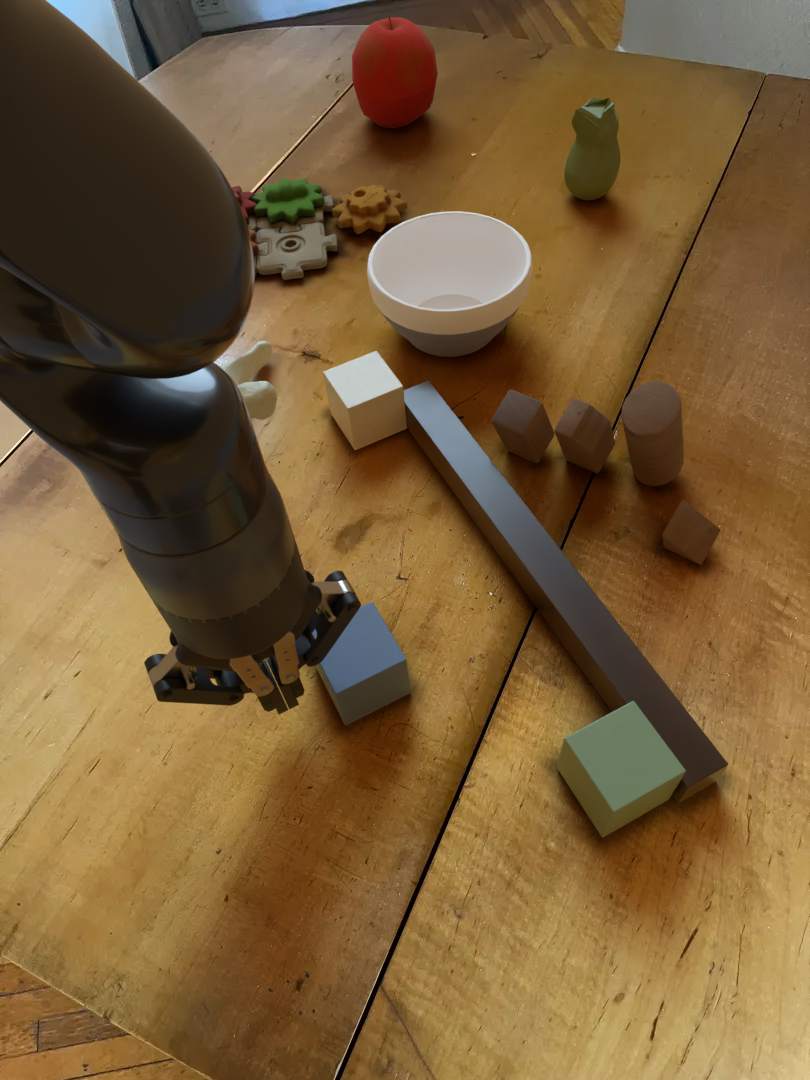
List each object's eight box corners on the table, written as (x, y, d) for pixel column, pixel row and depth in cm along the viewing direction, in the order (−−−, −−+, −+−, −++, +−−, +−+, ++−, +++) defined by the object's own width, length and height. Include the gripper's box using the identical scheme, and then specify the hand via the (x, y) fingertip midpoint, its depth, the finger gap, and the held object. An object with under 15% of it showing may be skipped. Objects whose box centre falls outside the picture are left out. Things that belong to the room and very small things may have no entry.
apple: (410, 149, 96) (403, 43, 87) (340, 129, 99) (326, 26, 90) (453, 108, 101) (451, 5, 91) (385, 92, 104) (376, -10, 95)
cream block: (354, 451, 69) (347, 408, 65) (330, 414, 72) (322, 371, 68) (407, 428, 70) (403, 386, 66) (381, 393, 73) (376, 350, 69)
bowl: (361, 294, 81) (353, 225, 75) (503, 267, 82) (506, 198, 76) (390, 394, 73) (383, 327, 66) (548, 363, 74) (555, 294, 67)
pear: (624, 196, 88) (640, 102, 79) (588, 216, 86) (600, 122, 78) (587, 175, 90) (598, 82, 82) (551, 194, 89) (559, 100, 81)
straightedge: (677, 804, 50) (688, 787, 48) (399, 417, 71) (397, 392, 68) (716, 781, 51) (729, 764, 49) (429, 405, 72) (428, 379, 69)
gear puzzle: (401, 179, 92) (398, 144, 89) (417, 266, 83) (415, 231, 80) (127, 212, 92) (114, 178, 89) (112, 303, 83) (97, 269, 79)
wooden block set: (499, 476, 69) (468, 427, 60) (550, 390, 70) (527, 328, 61) (701, 571, 62) (701, 532, 52) (755, 474, 62) (765, 418, 53)
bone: (275, 358, 77) (255, 284, 70) (295, 468, 68) (275, 395, 61) (133, 387, 76) (100, 315, 69) (134, 503, 67) (97, 432, 60)
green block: (602, 838, 49) (613, 813, 45) (556, 767, 52) (563, 737, 48) (669, 799, 51) (687, 771, 46) (621, 731, 53) (633, 699, 49)
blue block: (345, 726, 55) (335, 694, 51) (315, 667, 57) (304, 632, 53) (411, 693, 56) (406, 659, 52) (379, 636, 58) (372, 600, 54)
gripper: (103, 672, 36) (207, 796, 50) (372, 548, 39) (399, 699, 53) (63, 549, 40) (170, 697, 54) (310, 445, 43) (350, 611, 57)
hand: (284, 698), depth 53 cm, fingers closed
